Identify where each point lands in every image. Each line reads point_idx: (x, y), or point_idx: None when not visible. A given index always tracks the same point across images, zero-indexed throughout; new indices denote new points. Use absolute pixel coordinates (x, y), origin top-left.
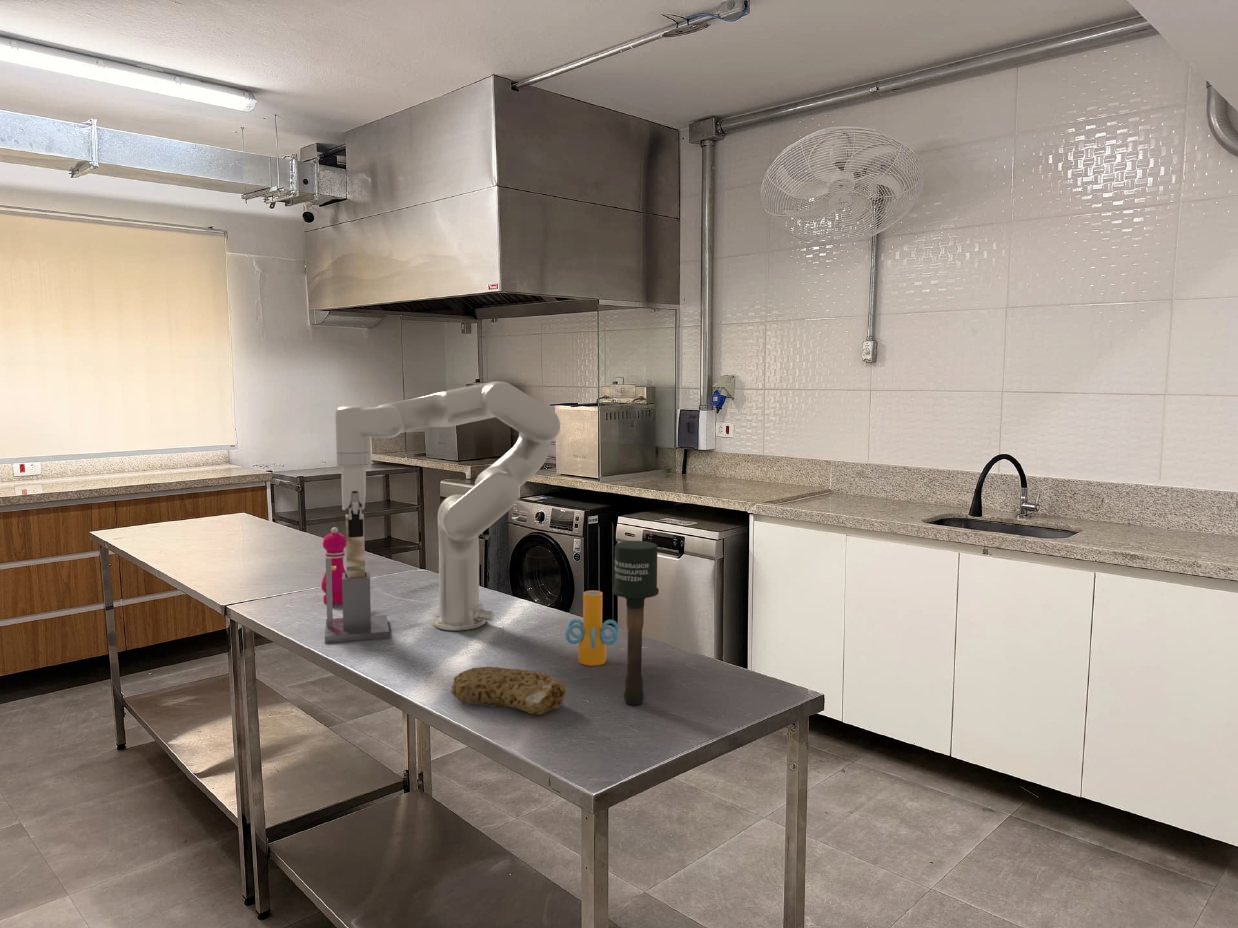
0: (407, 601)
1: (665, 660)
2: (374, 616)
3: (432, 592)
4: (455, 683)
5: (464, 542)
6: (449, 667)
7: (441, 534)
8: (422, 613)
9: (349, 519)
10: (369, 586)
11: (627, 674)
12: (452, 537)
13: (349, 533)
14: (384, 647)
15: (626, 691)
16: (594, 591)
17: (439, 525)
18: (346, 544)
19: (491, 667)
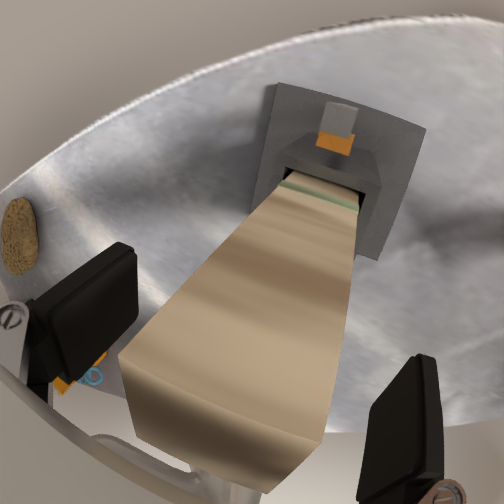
0: (468, 336)
1: (96, 375)
2: (380, 233)
3: (476, 383)
4: (13, 203)
5: (189, 464)
6: (98, 232)
7: (208, 474)
8: (377, 326)
9: (8, 302)
10: None
11: None
12: (101, 434)
13: (105, 255)
14: (201, 183)
15: (26, 304)
16: (60, 394)
17: (207, 496)
18: (238, 227)
19: (23, 246)
